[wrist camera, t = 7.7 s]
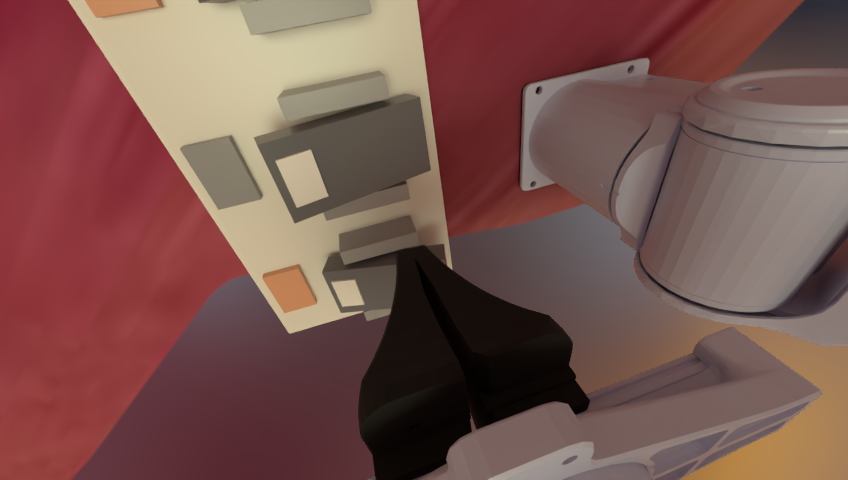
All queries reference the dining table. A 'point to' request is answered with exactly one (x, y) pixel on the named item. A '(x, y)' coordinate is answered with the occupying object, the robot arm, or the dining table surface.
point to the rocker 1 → (215, 1)
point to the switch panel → (276, 123)
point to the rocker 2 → (366, 280)
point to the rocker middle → (346, 155)
